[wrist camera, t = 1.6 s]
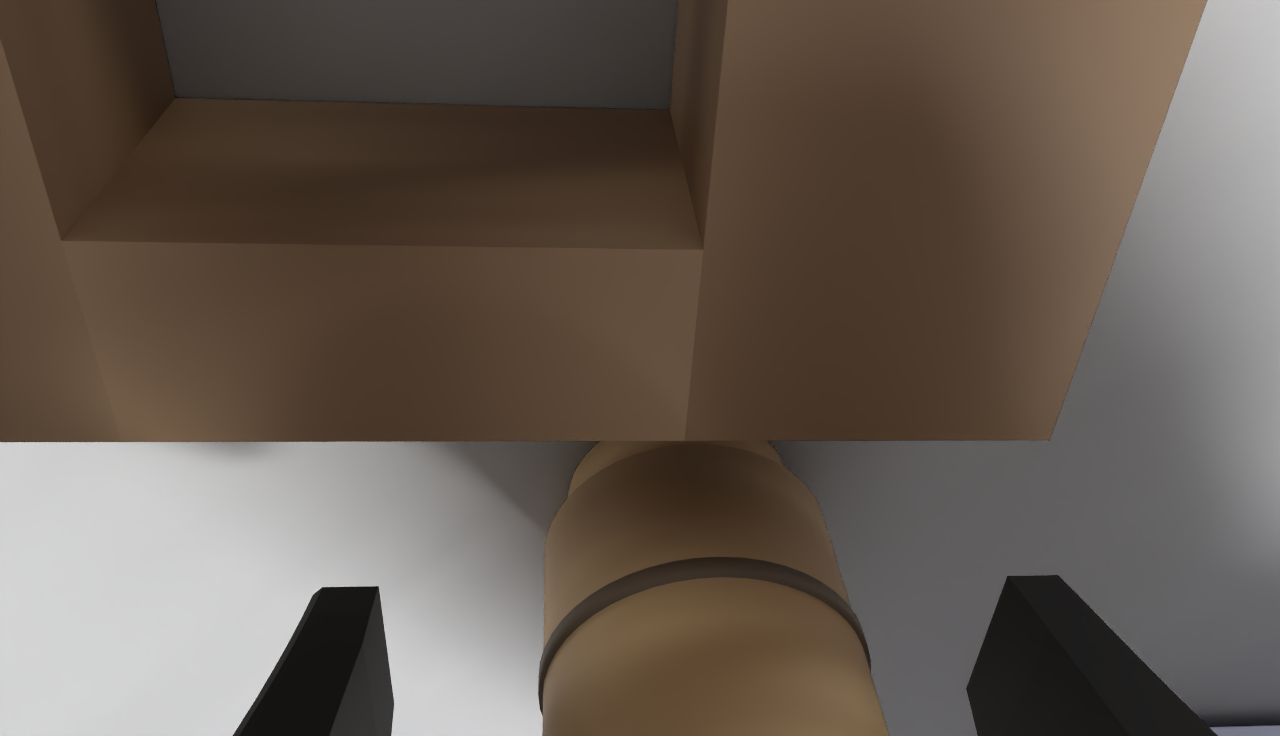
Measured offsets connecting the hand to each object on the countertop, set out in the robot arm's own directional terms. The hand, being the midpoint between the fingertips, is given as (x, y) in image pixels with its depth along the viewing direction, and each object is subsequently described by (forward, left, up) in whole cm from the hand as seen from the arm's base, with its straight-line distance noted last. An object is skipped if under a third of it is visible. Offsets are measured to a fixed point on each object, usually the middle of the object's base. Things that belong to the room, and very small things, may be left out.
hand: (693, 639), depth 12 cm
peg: (0, 0, -2) cm, 2 cm away
